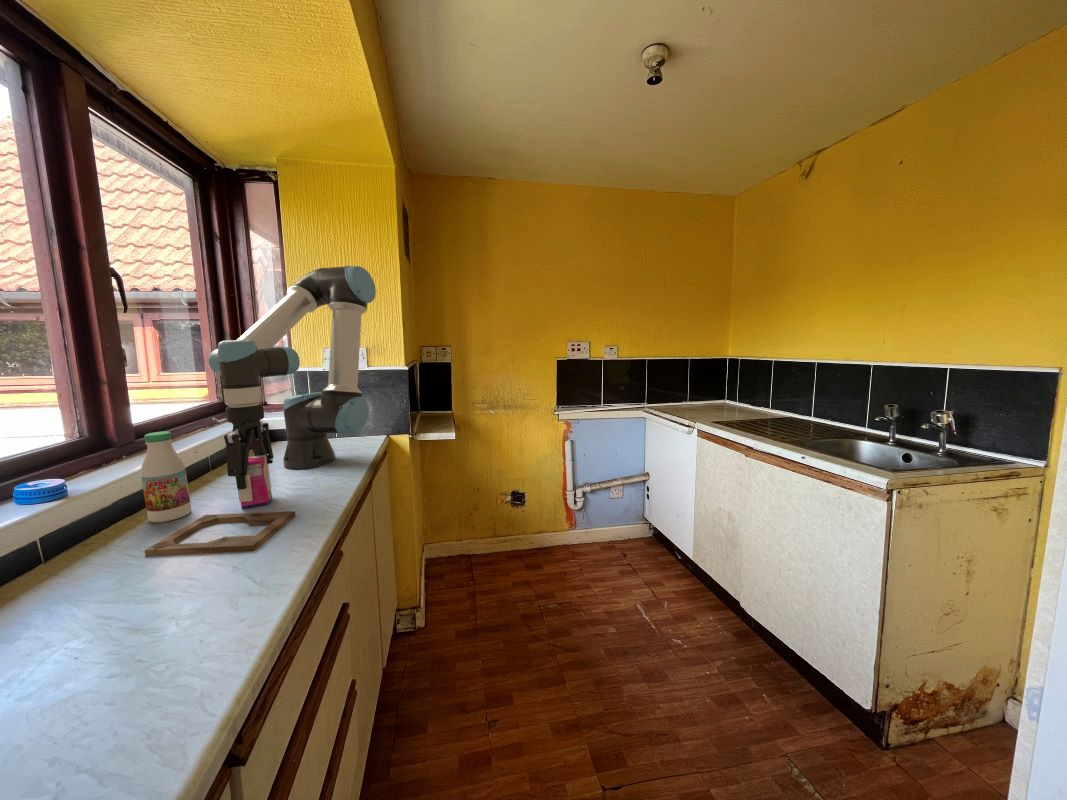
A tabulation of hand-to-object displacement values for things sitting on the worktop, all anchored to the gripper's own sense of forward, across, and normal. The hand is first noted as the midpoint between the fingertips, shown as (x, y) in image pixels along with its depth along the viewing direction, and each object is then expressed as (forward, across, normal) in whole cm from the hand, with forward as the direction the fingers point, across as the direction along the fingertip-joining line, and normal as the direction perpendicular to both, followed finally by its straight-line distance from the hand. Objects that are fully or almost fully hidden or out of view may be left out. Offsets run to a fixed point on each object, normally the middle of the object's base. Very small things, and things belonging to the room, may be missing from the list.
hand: (255, 494), depth 104 cm
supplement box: (+2, 0, 0) cm, 2 cm away
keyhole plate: (+2, +17, +4) cm, 18 cm away
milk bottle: (+2, +6, -16) cm, 17 cm away
